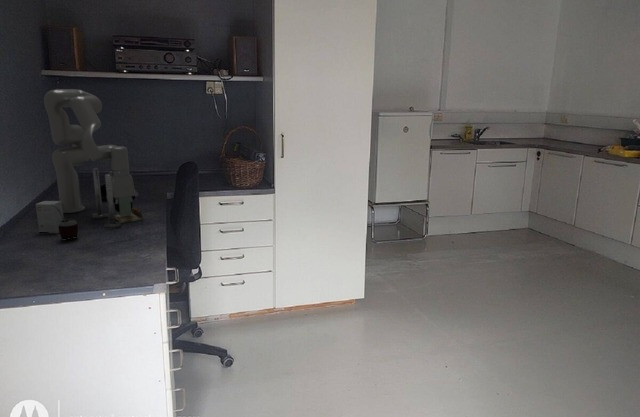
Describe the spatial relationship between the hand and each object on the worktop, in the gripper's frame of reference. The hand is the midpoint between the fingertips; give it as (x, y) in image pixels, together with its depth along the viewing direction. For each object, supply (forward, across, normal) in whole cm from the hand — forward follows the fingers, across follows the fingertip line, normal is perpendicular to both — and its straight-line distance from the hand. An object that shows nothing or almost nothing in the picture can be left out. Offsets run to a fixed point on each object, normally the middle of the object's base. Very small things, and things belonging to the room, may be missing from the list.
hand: (124, 210), depth 230 cm
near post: (+4, -8, -10) cm, 14 cm away
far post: (+4, -8, +10) cm, 14 cm away
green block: (+2, 0, 0) cm, 2 cm away
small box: (+5, -32, -2) cm, 32 cm away
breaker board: (+4, +2, 0) cm, 5 cm away
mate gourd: (+5, -28, -18) cm, 34 cm away
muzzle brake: (+5, +10, +54) cm, 55 cm away
